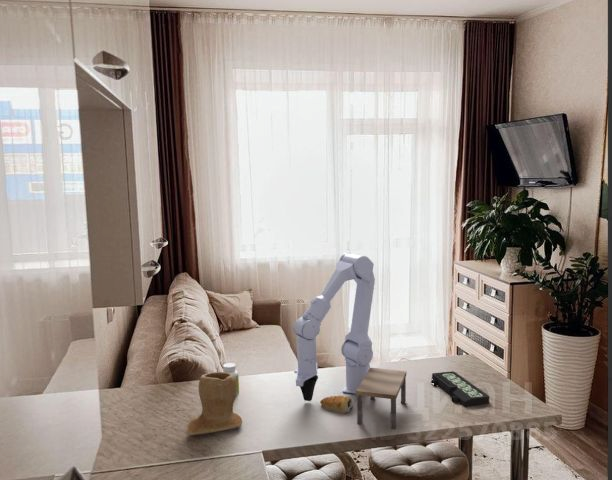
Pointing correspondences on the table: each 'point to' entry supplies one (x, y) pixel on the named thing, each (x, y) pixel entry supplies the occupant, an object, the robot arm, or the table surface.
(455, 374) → the digital display
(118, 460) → the table surface
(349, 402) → the pastry
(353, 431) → the table surface
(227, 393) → the stone cup
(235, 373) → the supplement bottle
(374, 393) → the wooden table
